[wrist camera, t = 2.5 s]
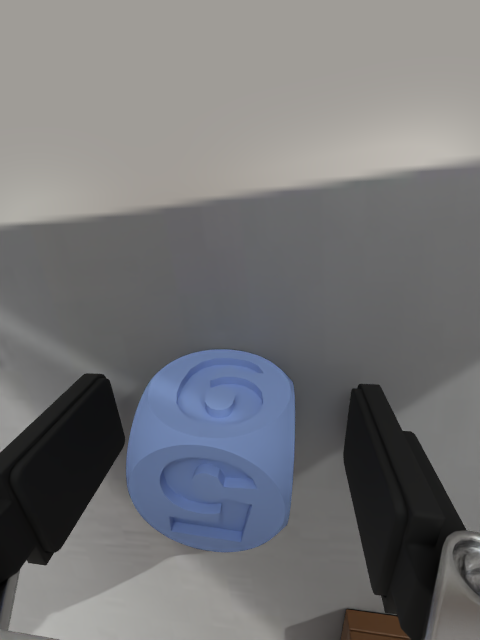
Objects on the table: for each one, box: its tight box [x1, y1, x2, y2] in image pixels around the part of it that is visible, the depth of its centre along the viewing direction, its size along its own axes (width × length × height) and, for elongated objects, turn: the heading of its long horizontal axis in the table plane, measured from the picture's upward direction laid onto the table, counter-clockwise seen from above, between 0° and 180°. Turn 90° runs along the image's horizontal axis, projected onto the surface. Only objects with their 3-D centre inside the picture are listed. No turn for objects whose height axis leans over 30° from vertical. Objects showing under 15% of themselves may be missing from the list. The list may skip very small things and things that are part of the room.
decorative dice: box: [126, 349, 295, 552], centre depth 9 cm, size 4×4×4 cm
